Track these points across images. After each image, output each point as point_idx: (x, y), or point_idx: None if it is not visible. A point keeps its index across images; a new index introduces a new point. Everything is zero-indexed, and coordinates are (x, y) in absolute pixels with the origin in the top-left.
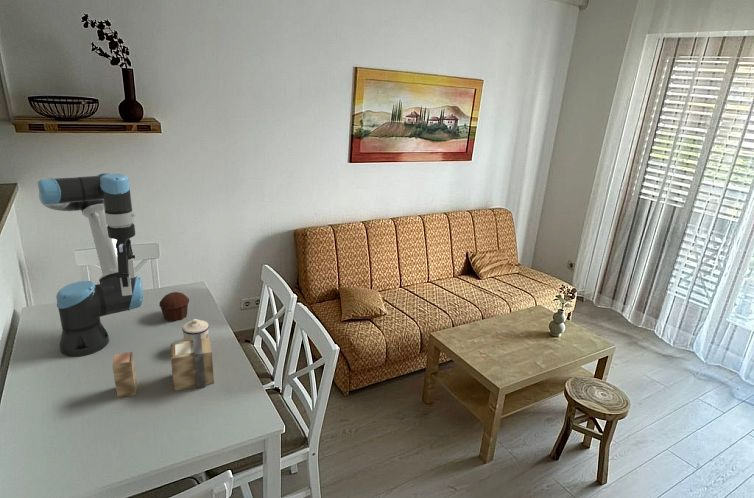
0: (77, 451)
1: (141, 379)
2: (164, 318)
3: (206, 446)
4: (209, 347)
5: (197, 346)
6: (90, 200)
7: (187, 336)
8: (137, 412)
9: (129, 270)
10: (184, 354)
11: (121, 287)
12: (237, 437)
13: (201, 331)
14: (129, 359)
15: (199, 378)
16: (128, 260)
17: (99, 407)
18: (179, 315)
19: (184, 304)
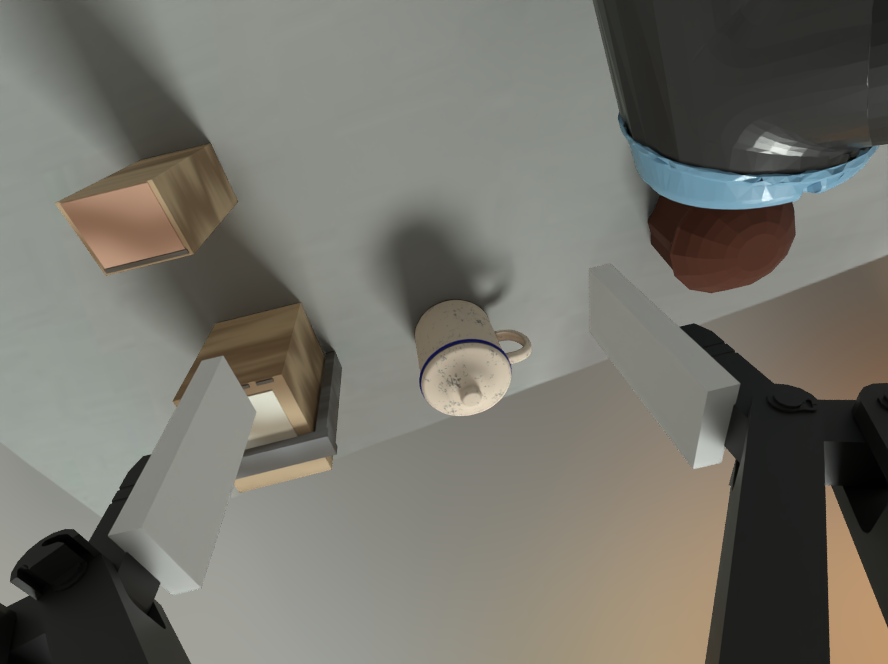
0: None
1: (263, 209)
2: None
3: (7, 439)
4: (267, 481)
5: (250, 465)
6: None
7: (427, 353)
8: (82, 250)
9: (626, 344)
10: None
11: (172, 422)
12: (63, 484)
13: (429, 403)
14: (123, 263)
15: None
16: (699, 432)
17: (69, 109)
18: (659, 247)
19: (688, 284)
